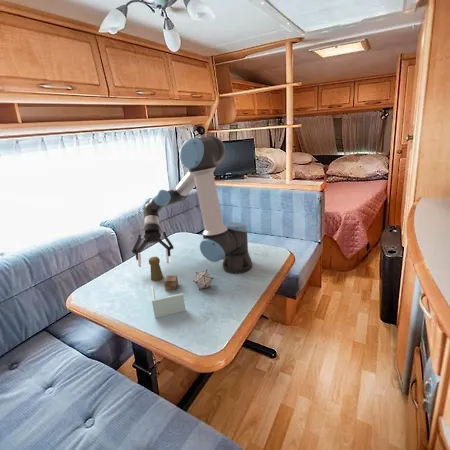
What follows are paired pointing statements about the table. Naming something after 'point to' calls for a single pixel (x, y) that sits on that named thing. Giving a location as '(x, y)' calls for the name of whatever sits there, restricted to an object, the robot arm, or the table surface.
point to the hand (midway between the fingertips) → (153, 264)
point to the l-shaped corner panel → (167, 304)
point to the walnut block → (171, 282)
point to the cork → (155, 269)
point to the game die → (203, 279)
